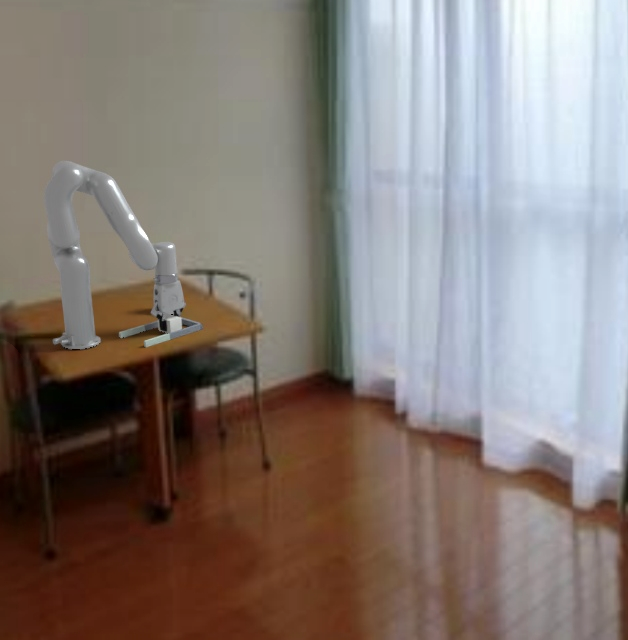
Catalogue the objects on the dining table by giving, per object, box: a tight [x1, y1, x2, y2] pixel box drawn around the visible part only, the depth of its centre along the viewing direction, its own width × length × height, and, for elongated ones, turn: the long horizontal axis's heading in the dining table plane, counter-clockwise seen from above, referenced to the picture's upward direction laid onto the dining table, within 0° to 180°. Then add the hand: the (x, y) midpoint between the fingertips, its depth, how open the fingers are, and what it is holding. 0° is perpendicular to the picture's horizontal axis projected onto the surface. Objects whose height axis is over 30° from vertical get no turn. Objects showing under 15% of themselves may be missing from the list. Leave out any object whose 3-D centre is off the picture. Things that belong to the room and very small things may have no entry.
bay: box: [118, 316, 204, 348], centre depth 292 cm, size 24×15×2 cm, turn 137°
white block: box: [157, 314, 183, 334], centre depth 294 cm, size 5×7×5 cm
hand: (170, 328), depth 295 cm, fingers closed on white block, 5 cm apart
